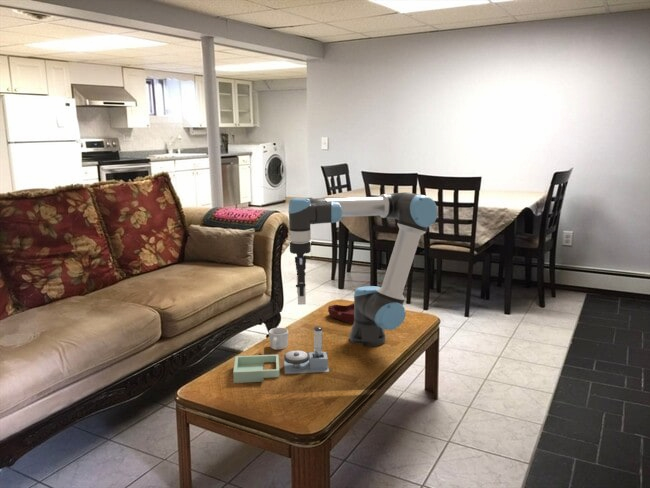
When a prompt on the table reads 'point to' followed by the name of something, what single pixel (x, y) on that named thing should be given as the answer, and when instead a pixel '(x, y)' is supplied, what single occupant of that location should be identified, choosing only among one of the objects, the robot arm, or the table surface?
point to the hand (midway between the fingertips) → (301, 298)
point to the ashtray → (342, 312)
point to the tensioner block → (304, 362)
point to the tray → (254, 368)
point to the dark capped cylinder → (317, 342)
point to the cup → (278, 338)
